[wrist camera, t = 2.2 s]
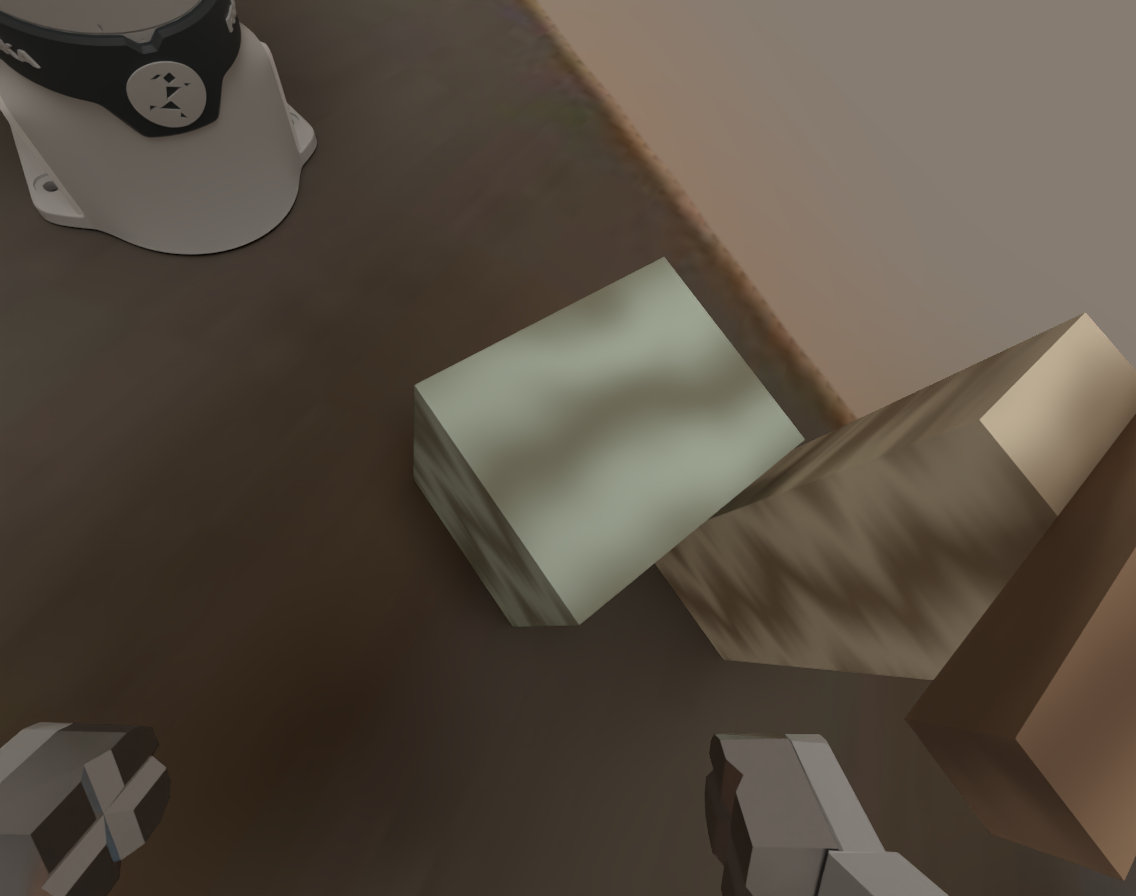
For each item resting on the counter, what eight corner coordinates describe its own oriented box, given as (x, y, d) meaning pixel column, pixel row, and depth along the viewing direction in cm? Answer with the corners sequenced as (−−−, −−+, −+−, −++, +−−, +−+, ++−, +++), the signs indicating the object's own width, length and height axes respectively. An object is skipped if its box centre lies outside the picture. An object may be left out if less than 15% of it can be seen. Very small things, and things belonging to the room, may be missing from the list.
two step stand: (413, 478, 37) (416, 207, 13) (617, 358, 44) (855, 45, 21) (609, 771, 35) (1047, 1086, 11) (791, 592, 42) (1286, 544, 18)
